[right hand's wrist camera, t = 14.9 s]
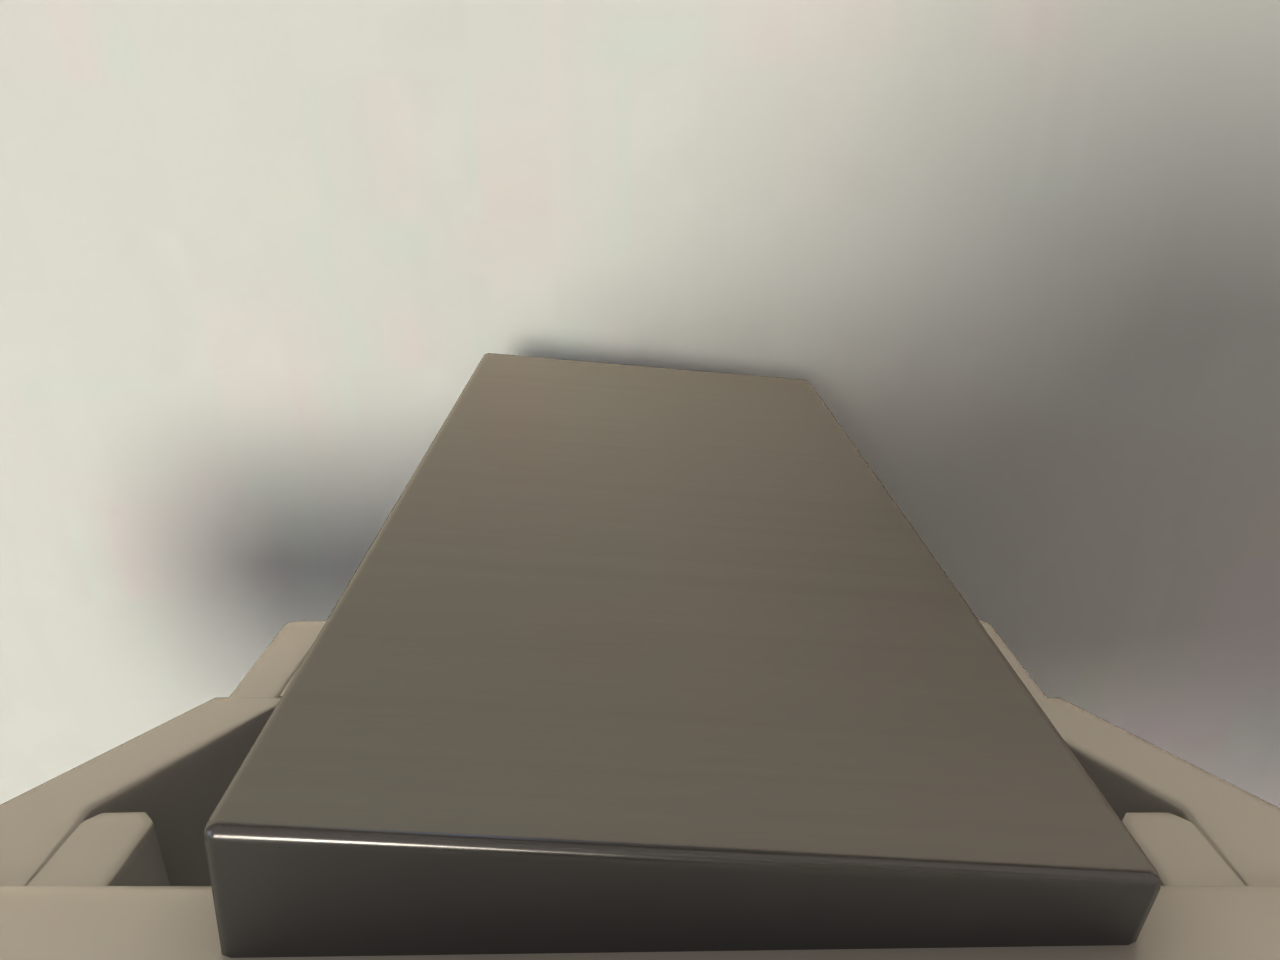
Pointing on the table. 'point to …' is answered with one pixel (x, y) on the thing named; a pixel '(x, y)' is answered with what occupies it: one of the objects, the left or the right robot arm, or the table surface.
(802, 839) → the bar
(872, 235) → the table surface
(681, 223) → the table surface
